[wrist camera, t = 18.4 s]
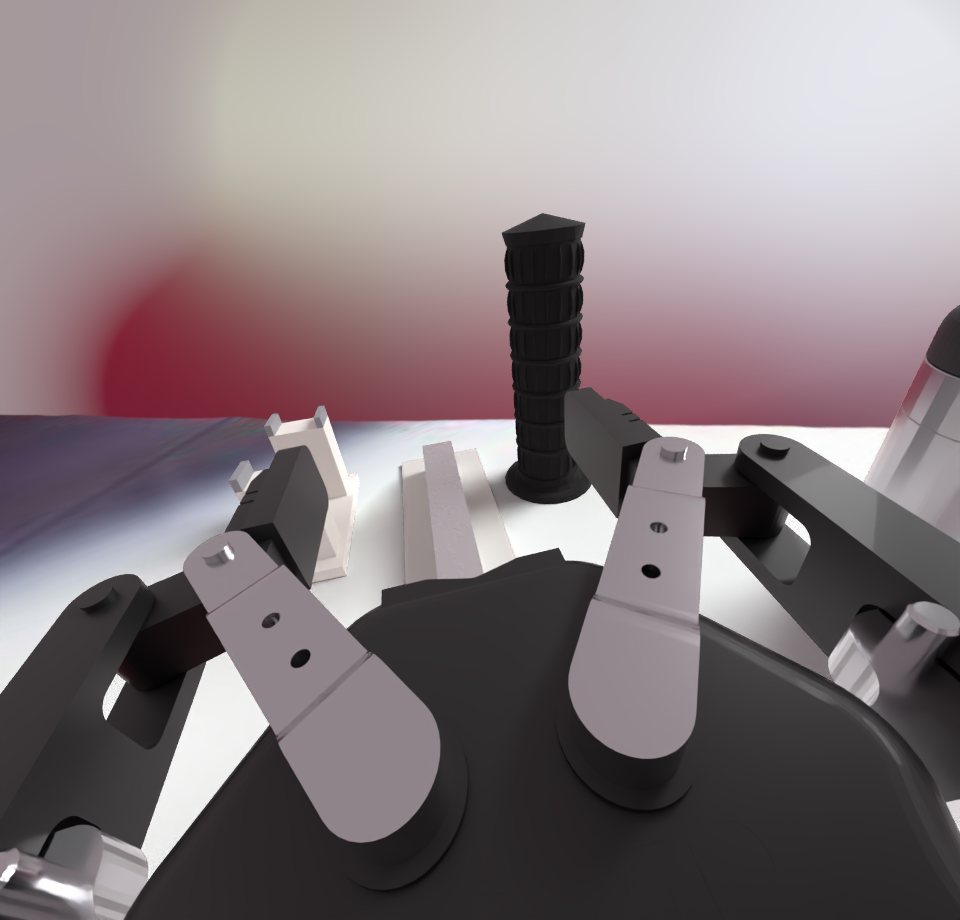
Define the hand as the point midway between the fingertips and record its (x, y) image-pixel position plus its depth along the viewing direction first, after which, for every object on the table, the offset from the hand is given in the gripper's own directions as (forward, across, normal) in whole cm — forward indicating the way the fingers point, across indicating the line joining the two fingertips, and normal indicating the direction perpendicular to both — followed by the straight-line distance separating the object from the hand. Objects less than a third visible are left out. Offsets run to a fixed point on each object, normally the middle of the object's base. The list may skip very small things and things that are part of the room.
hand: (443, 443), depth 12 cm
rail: (+19, +1, +21) cm, 29 cm away
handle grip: (+25, -11, +22) cm, 36 cm away
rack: (+24, +15, +21) cm, 36 cm away
